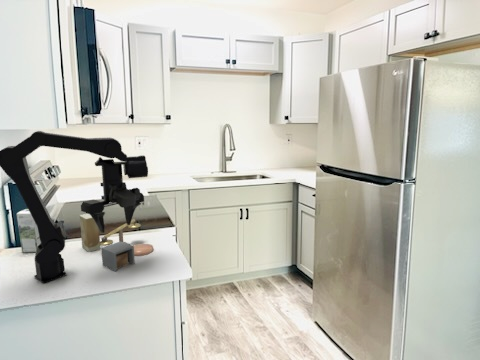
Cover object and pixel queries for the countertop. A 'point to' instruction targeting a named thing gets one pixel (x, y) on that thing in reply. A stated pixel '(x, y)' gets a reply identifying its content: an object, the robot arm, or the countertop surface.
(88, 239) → the skincare box
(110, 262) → the cover
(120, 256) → the walnut block
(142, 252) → the dish
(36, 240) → the syrup box
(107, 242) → the balance
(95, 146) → the robot arm
